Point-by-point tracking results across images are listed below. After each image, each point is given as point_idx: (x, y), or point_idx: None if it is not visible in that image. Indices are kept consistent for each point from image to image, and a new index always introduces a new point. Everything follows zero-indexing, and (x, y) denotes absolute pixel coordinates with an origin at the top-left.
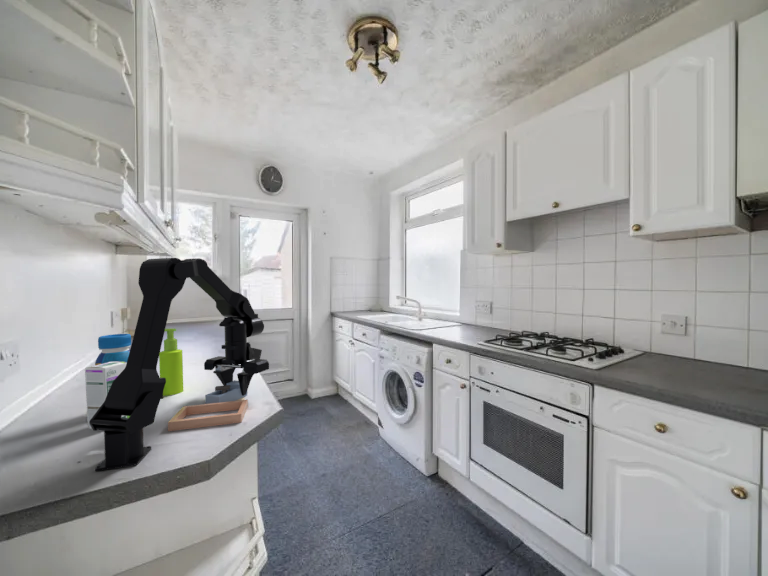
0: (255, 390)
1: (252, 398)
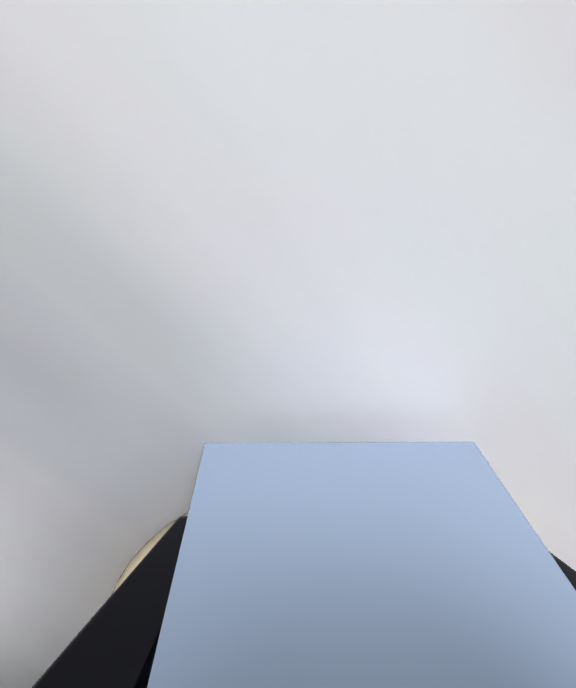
0: (374, 52)
1: (565, 437)
